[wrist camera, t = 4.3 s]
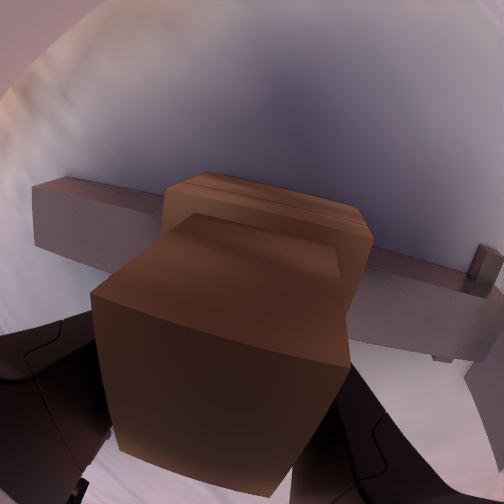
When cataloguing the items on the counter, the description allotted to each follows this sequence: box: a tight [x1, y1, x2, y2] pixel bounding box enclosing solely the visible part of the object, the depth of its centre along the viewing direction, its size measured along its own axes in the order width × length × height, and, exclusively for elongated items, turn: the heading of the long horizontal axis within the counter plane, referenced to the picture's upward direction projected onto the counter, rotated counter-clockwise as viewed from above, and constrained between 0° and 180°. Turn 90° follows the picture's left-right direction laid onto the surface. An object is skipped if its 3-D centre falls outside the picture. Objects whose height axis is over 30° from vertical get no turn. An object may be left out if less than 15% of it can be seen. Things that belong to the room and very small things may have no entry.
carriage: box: [90, 172, 374, 498], centre depth 9 cm, size 6×6×8 cm
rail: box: [32, 177, 504, 363], centre depth 12 cm, size 22×6×2 cm, turn 79°
